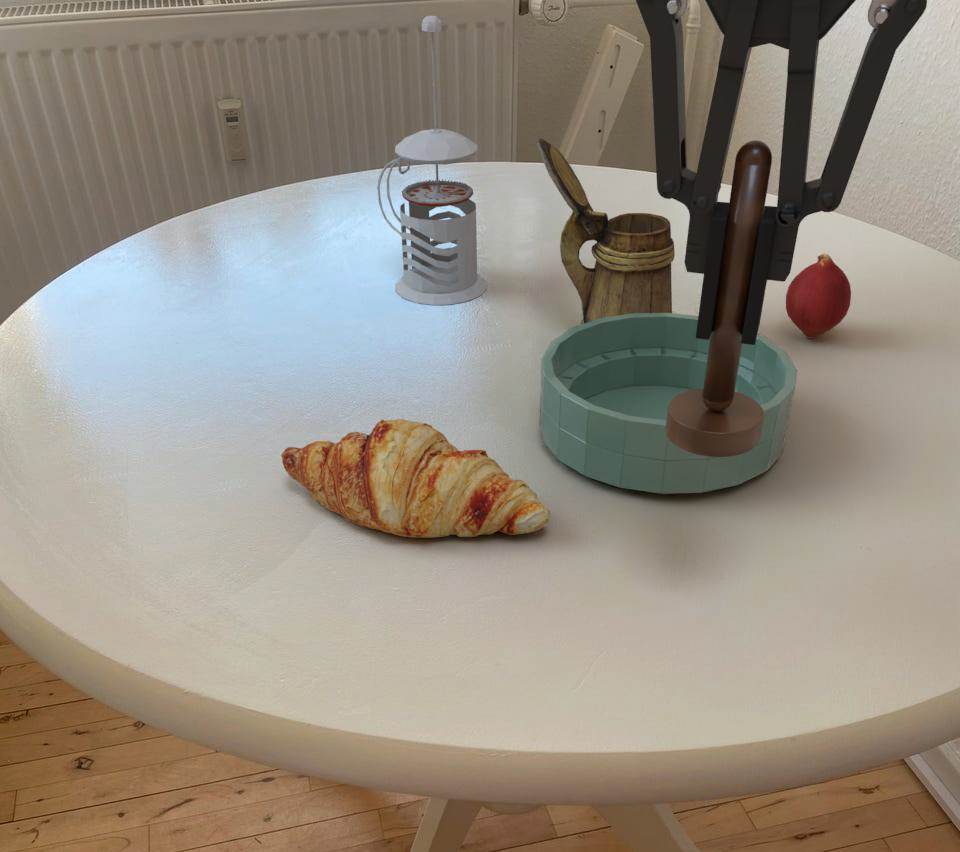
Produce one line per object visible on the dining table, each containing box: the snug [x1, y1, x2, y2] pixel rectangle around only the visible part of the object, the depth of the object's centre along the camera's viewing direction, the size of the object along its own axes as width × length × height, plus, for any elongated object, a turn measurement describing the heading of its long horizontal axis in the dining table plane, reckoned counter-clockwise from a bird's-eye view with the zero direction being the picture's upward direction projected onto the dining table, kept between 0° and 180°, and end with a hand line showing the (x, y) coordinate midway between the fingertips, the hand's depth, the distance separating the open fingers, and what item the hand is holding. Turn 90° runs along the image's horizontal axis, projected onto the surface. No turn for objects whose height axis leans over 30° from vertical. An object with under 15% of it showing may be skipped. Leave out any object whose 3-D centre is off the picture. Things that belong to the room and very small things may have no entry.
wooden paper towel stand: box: [665, 139, 773, 457], centre depth 58 cm, size 6×6×16 cm
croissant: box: [281, 418, 550, 539], centre depth 77 cm, size 21×10×8 cm, turn 71°
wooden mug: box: [537, 137, 675, 325], centre depth 95 cm, size 9×14×18 cm, turn 82°
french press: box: [376, 15, 488, 306], centre depth 104 cm, size 10×12×25 cm
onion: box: [785, 253, 852, 339], centre depth 99 cm, size 6×6×8 cm
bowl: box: [539, 312, 798, 495], centre depth 85 cm, size 20×20×6 cm
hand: (727, 330), depth 59 cm, fingers closed on wooden paper towel stand, 2 cm apart
